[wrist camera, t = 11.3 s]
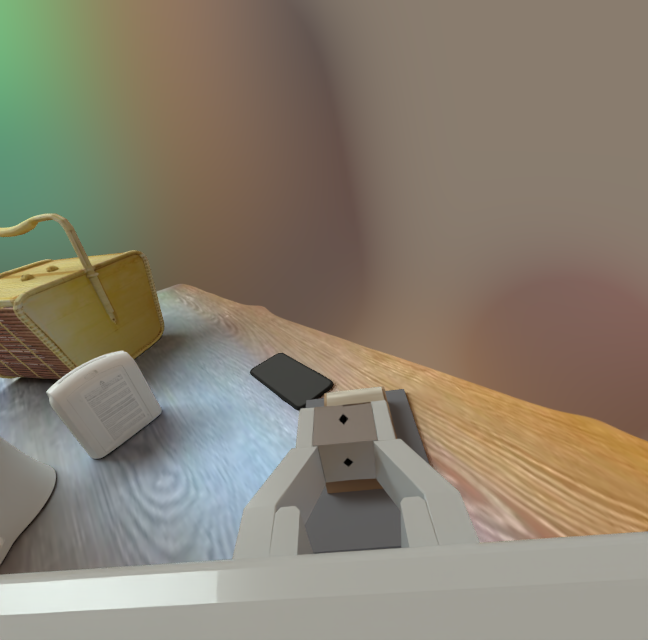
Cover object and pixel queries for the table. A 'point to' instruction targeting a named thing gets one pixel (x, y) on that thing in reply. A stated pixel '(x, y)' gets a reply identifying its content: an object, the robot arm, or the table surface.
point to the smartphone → (291, 380)
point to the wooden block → (352, 398)
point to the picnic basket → (74, 309)
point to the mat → (363, 499)
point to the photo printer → (104, 402)
